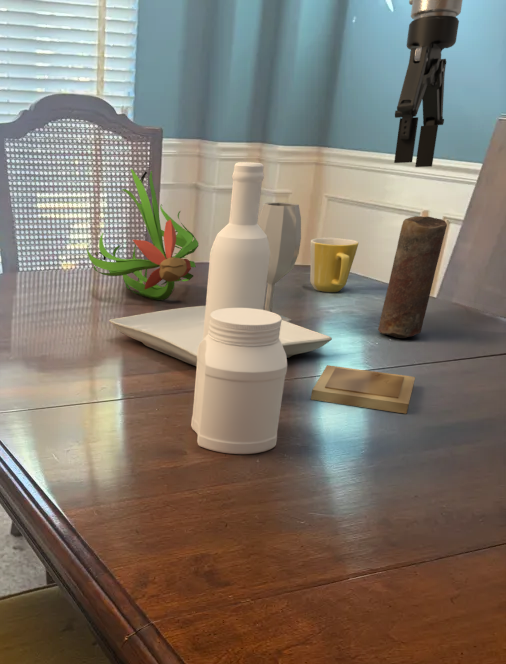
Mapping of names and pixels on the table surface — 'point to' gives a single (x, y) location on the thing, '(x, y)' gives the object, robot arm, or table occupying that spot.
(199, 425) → the jar
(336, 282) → the mug
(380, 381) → the board
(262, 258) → the bottle
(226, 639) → the table surface
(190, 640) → the table surface
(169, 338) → the square plate
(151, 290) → the decorative plant
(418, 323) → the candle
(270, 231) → the wineglass
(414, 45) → the robot arm
